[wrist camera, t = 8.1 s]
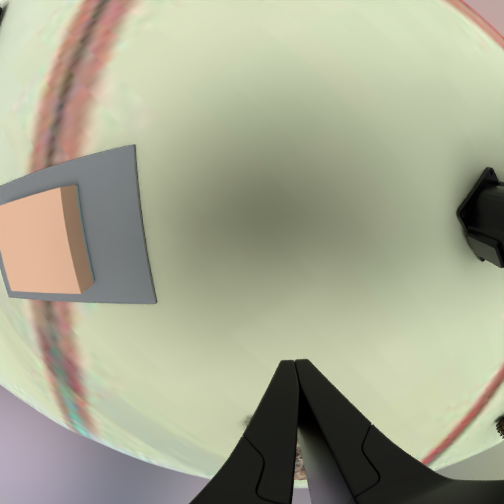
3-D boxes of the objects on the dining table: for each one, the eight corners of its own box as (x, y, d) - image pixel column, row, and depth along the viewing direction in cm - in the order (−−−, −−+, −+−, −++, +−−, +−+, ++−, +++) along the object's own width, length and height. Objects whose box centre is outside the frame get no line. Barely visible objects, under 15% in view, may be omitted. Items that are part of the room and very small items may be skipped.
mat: (135, 144, 17) (133, 144, 16) (156, 302, 20) (155, 303, 20) (-12, 191, 17) (-14, 192, 17) (10, 296, 21) (8, 297, 21)
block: (60, 187, 15) (-8, 208, 15) (81, 293, 17) (11, 290, 18) (78, 184, 17) (9, 203, 18) (95, 281, 20) (25, 281, 20)
